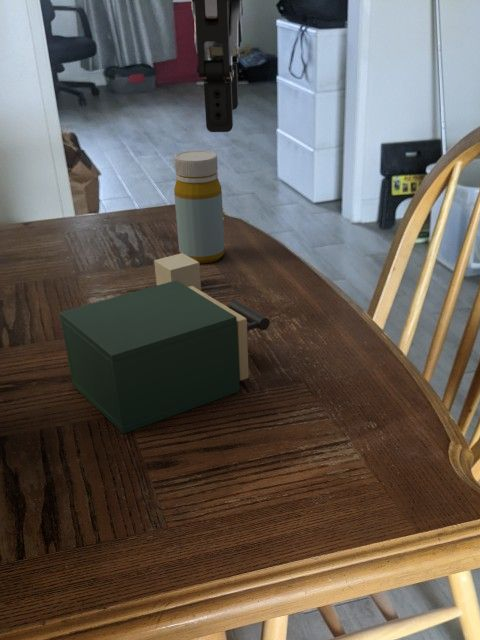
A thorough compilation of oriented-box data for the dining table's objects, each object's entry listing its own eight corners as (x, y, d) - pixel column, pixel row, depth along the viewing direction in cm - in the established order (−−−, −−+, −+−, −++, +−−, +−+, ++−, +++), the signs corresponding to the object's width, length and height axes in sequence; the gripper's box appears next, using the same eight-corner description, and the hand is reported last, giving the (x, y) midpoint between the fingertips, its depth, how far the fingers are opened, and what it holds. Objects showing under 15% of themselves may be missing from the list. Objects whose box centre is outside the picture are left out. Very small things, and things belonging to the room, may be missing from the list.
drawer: (228, 331, 98) (226, 275, 94) (282, 365, 91) (282, 307, 86) (96, 373, 90) (86, 315, 85) (143, 415, 82) (135, 353, 78)
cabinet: (182, 350, 96) (176, 279, 91) (239, 391, 88) (236, 316, 82) (72, 386, 89) (59, 312, 84) (123, 434, 81) (111, 355, 76)
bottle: (209, 245, 126) (204, 146, 117) (233, 258, 121) (228, 156, 112) (171, 254, 122) (162, 154, 114) (194, 268, 118) (186, 164, 109)
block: (173, 302, 108) (170, 270, 105) (157, 291, 111) (153, 260, 108) (201, 293, 110) (199, 262, 107) (185, 283, 113) (182, 252, 110)
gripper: (174, -108, 65) (189, 103, 75) (150, -110, 54) (171, 140, 64) (264, -109, 65) (267, 102, 75) (259, -112, 54) (263, 139, 63)
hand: (223, 119), depth 69 cm, fingers open, 8 cm apart
